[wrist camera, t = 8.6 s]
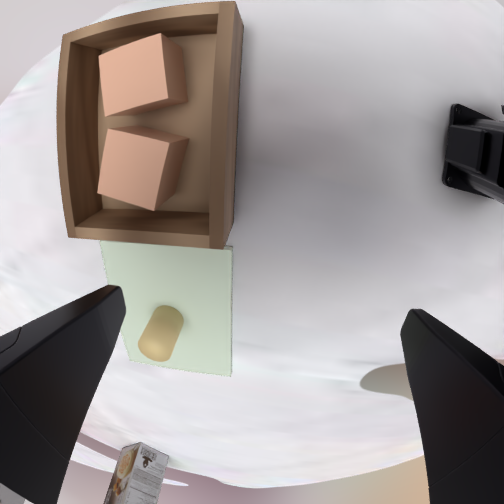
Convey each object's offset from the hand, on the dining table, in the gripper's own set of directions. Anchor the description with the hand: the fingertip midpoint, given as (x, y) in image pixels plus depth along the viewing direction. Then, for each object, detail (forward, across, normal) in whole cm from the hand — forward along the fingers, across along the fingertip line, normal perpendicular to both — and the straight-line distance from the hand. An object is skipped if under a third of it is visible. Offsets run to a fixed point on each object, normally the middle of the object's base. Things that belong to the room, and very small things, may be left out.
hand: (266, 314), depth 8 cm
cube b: (+12, +8, -2) cm, 15 cm away
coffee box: (+13, +19, +48) cm, 53 cm away
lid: (+13, +8, +11) cm, 19 cm away
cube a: (+12, +8, -8) cm, 16 cm away
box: (+12, +8, -5) cm, 16 cm away
